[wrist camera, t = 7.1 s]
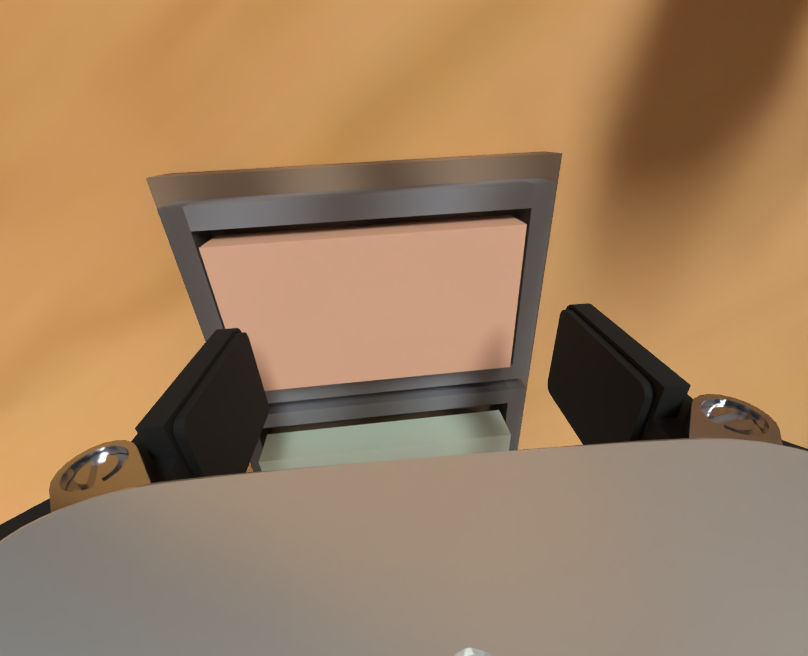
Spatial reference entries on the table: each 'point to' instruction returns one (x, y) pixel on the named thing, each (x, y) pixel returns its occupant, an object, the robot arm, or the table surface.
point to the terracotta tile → (371, 298)
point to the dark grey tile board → (368, 205)
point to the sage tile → (387, 441)
